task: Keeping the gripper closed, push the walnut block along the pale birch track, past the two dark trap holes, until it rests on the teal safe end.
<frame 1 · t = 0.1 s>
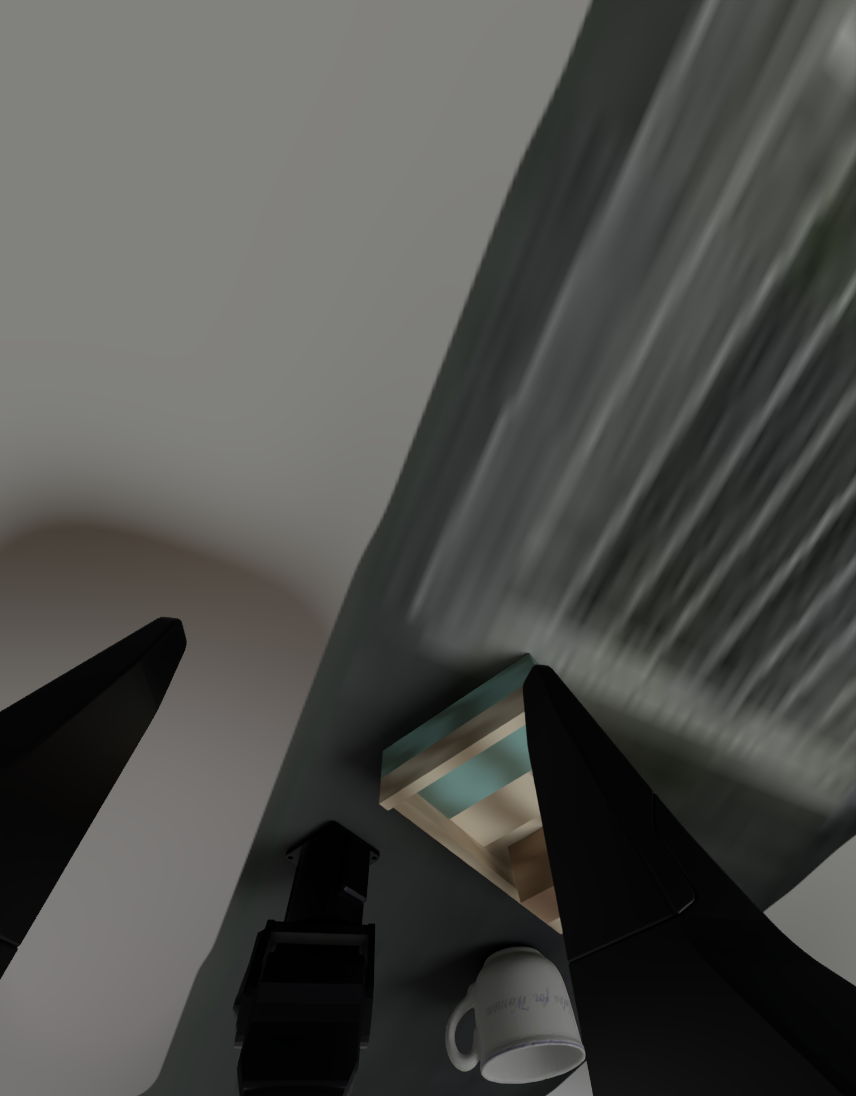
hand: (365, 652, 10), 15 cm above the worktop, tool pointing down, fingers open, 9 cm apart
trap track: (538, 786, 34), on the worktop
teacup: (499, 956, 45), on the worktop
walnut block: (538, 847, 33), point 2 cm above the worktop, touching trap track
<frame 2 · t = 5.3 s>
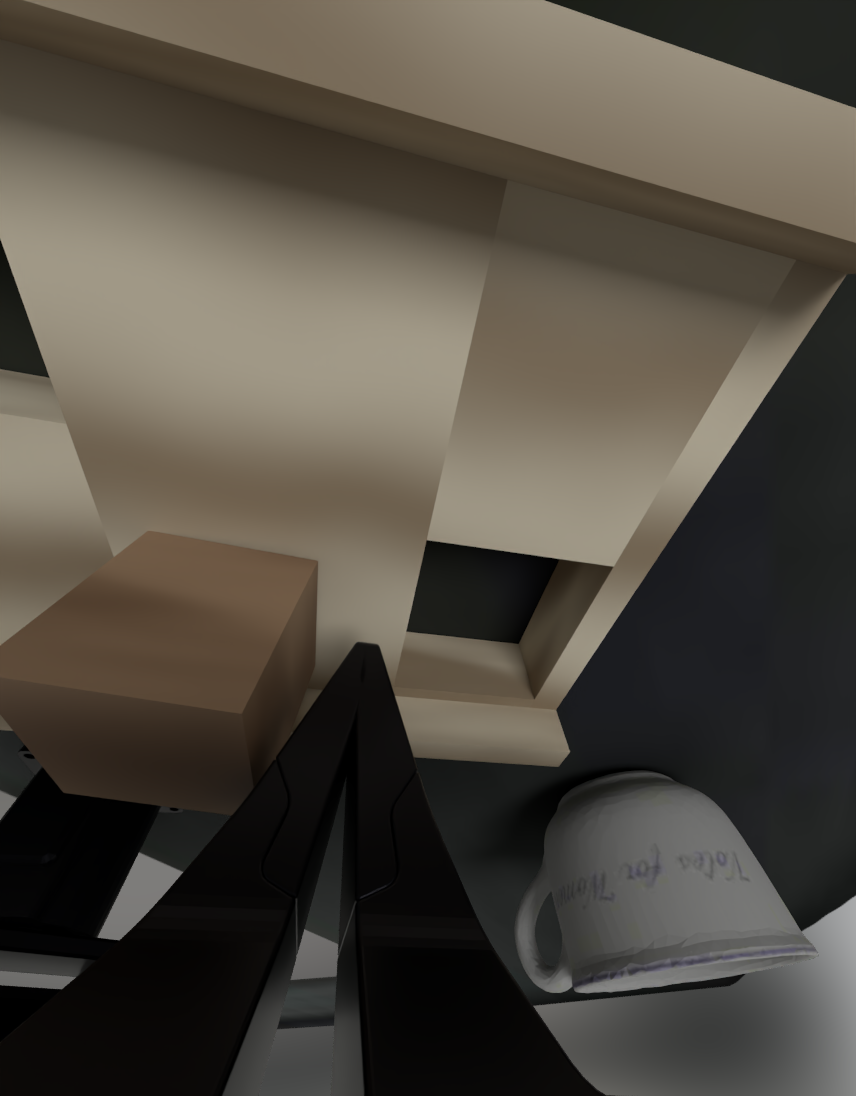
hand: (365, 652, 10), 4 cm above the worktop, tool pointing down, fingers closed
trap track: (175, 454, 10), on the worktop
teacup: (589, 794, 24), on the worktop
walnut block: (242, 606, 10), point 3 cm above the worktop, touching gripper, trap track
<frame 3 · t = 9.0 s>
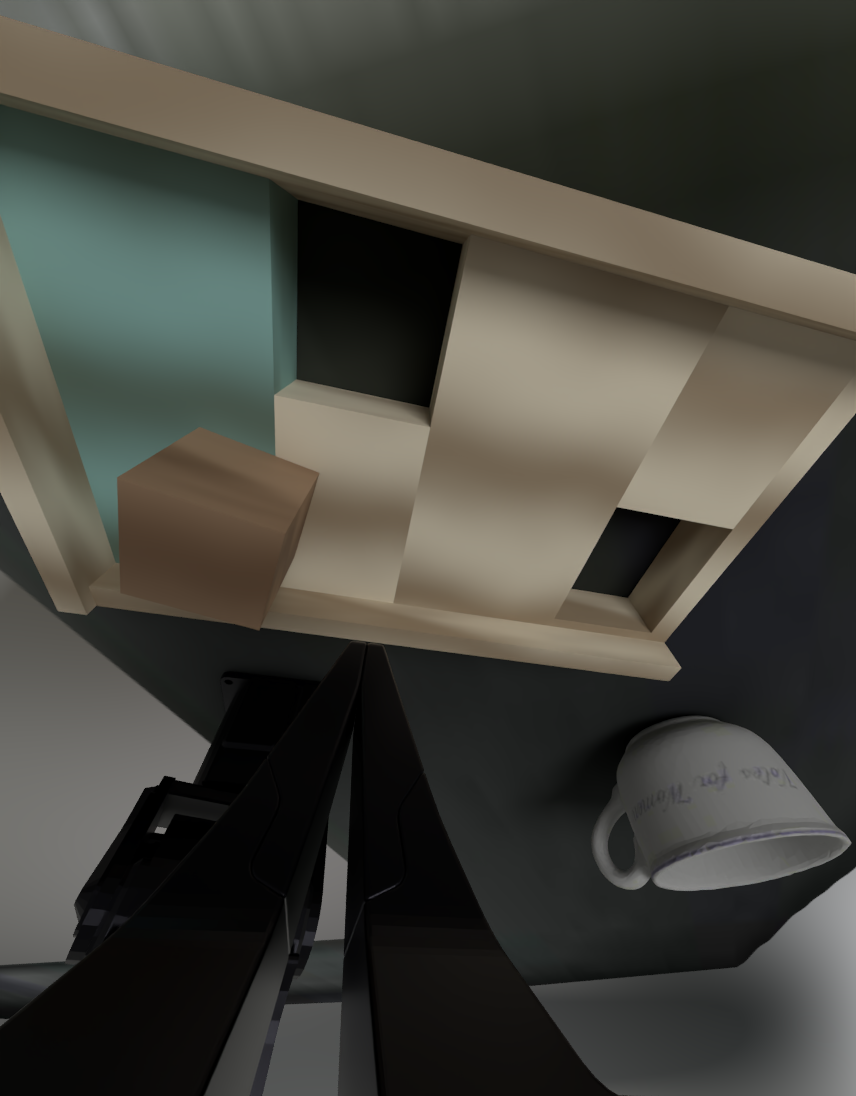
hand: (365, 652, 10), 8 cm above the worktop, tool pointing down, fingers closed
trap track: (433, 447, 15), on the worktop
teacup: (650, 740, 29), on the worktop
walnut block: (252, 499, 14), point 2 cm above the worktop, touching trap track
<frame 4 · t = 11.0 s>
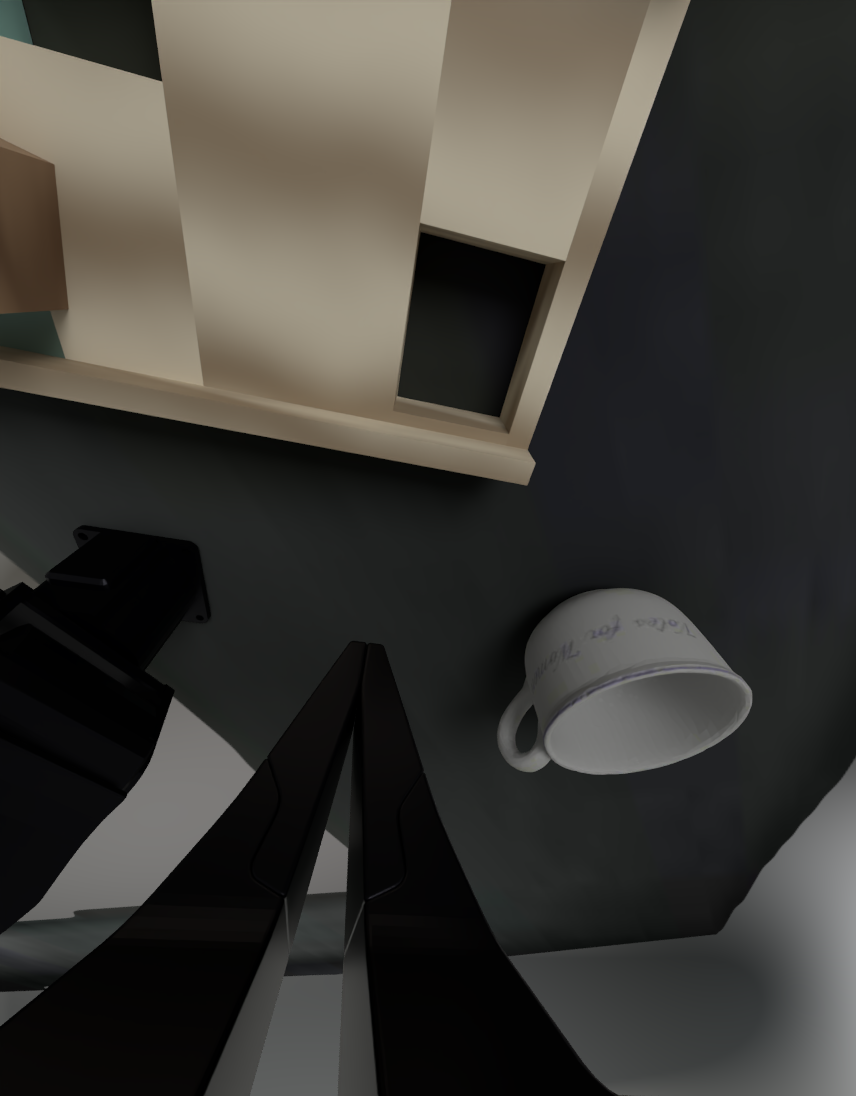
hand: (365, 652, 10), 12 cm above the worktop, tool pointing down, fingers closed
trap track: (226, 181, 13), on the worktop
teacup: (568, 629, 27), on the worktop
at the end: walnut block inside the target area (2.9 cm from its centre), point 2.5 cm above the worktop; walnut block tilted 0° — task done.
